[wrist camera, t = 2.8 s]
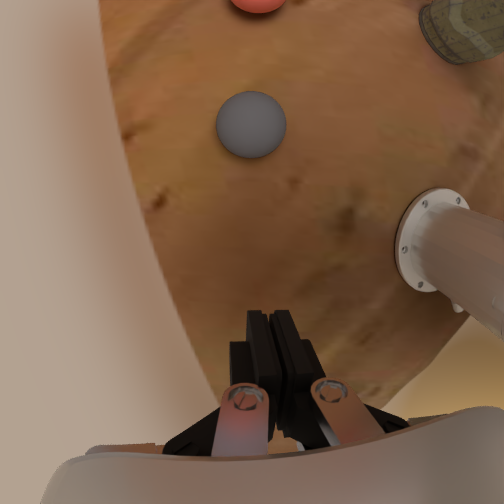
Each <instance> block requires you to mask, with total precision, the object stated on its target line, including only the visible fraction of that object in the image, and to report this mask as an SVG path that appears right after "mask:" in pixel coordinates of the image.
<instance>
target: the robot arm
mask: <svg viewBox="0 0 504 504" xmlns="http://www.w3.org/2000/svg"><path fill="white" fill-rule="evenodd" d="M395 258H396V264H397V267H398V270H399V273H400V275H401V276H402V278H403V279H404V281H405V282H407V283H408V284H409V285H410V286H411V287H413V288H414V289H415V290H418V291H421V292H433V291H437V290H439V291H440V292H442V293H443V294H444V295H446V296H447V297H448V298H450V299H451V303H452V307H453V310H454V311H455V312H457V313H459V312H462V311H463V310H465V311H466V312H468V313H469V314H470V315H472V316H473V317H474V318H475V319H477V320H478V321H479V322H480V323H482V324H483V325H484V326H485V327H487V328H488V329H489V330H490V331H491V332H493V333H494V334H495V335H496V336H497V337H499V338H500V339H501V340H502V341H503V342H504V221H501V220H499V219H496V218H493V217H490V216H487V215H485V214H482V213H479V212H476V211H473V210H470V208H469V206H468V204H467V202H466V201H465V199H464V198H463V197H462V196H461V195H460V194H459V193H457V192H455V191H453V190H450V189H446V188H434V189H430V190H428V191H426V192H424V193H422V194H421V195H420V196H418V197H417V198H416V199H415V200H414V201H413V202H412V204H411V205H410V206H409V207H408V209H407V211H406V212H405V214H404V216H403V218H402V220H401V223H400V225H399V229H398V232H397V236H396V243H395ZM275 423H276V425H277V429H278V431H279V430H283V435H284V438H286V437H291V438H293V439H295V440H296V441H297V447H298V450H299V451H298V452H290V453H280V454H269V455H267V452H268V442H269V441H270V440H271V439H272V438H273V432H274V429H275ZM40 504H504V410H503V409H501V408H498V407H493V406H478V407H473V408H467V409H463V410H459V411H456V412H453V413H450V414H443V415H436V416H427V417H418V418H409V419H408V420H407V421H405V420H404V419H402V418H400V417H398V416H395V415H392V414H390V413H387V412H384V411H382V410H379V409H376V408H374V407H371V406H369V405H366V404H364V403H362V401H361V400H360V399H359V397H358V396H357V395H356V393H355V392H354V391H353V389H352V388H351V387H350V386H349V385H348V384H347V383H346V382H345V381H343V380H341V379H338V378H333V377H326V375H325V373H324V371H323V369H322V366H321V364H320V362H319V360H318V357H317V355H316V353H315V351H314V349H313V346H312V344H311V342H310V340H308V339H302V340H301V339H300V336H299V334H298V331H297V329H296V327H295V324H294V322H293V319H292V317H291V314H290V312H289V310H275V311H274V314H270V315H269V322H268V318H267V315H266V314H262V312H261V310H248V311H247V328H246V341H242V342H230V387H229V388H228V389H227V390H225V392H224V394H223V397H222V402H221V406H220V407H219V408H217V409H216V410H215V411H213V412H212V413H210V414H209V415H207V416H206V417H204V418H203V419H201V420H200V421H198V422H197V423H196V424H194V425H192V426H191V427H189V428H188V429H186V430H185V431H183V432H182V433H180V434H179V435H177V436H176V437H174V438H172V439H171V440H170V441H168V442H167V443H166V444H165V445H157V446H156V445H155V443H146V444H128V445H98V446H94V447H92V448H91V449H89V450H88V451H87V452H86V453H85V455H83V456H79V457H75V458H72V459H70V460H68V461H66V462H64V463H63V464H62V465H61V466H59V468H58V469H57V470H56V471H55V473H54V474H53V476H52V478H51V479H50V481H49V483H48V485H47V488H46V490H45V492H44V495H43V497H42V500H41V503H40Z"/></svg>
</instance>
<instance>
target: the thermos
mask: <svg viewBox="0 0 504 504" xmlns="http://www.w3.org/2000/svg"><path fill="white" fill-rule="evenodd" d="M419 23H420V27H421V30H422V32H423V34H424V36H425V38H426V40H427V42H428V43H429V44H430V46H431V47H432V48H433V50H434V51H435V52H436V53H437V54H438V55H439V56H440V57H441V58H443V59H444V60H446V61H448V62H449V63H452V64H456V65H457V64H463V63H466V62H477V61H481V60H486V59H491V58H493V57H495V56H497V55H498V54H500V53H502V52H503V51H504V0H434V1H432V3H431V5H428V6H426V7H424V8H423V9H421V11H420V13H419Z"/></svg>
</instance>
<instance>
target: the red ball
mask: <svg viewBox="0 0 504 504" xmlns="http://www.w3.org/2000/svg"><path fill="white" fill-rule="evenodd" d="M231 1H232V2H233V3H234V4H235V5H236V6H237V7H239V8H240V9H242V10H244V11H247V12H251V13H266V12H270V11H273V10H275V9H277V8H278V7H280V6H281V5H282V4H283V3H284V2H285V1H286V0H231Z"/></svg>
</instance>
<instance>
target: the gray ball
mask: <svg viewBox="0 0 504 504" xmlns="http://www.w3.org/2000/svg"><path fill="white" fill-rule="evenodd" d="M216 129H217V134H218V137H219V139H220V141H221V142H222V144H223V145H224V146H225V147H226V148H227V149H228V150H229V151H230V152H232V153H233V154H235V155H238V156H241V157H245V158H258V157H262V156H265V155H267V154H269V153H270V152H272V151H273V150H275V149H276V148H277V147H278V146H279V144H280V143H281V142H282V140H283V138H284V135H285V132H286V118H285V114H284V111H283V110H282V108H281V106H280V105H279V104H278V102H277V101H276V100H274V99H273V98H272V97H270V96H268V95H266V94H264V93H261V92H256V91H247V92H242V93H239V94H236V95H234V96H232V97H231V98H229V99H228V100H227V101H226V102H225V103H224V104H223V106H222V107H221V109H220V110H219V113H218V116H217V120H216Z"/></svg>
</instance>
